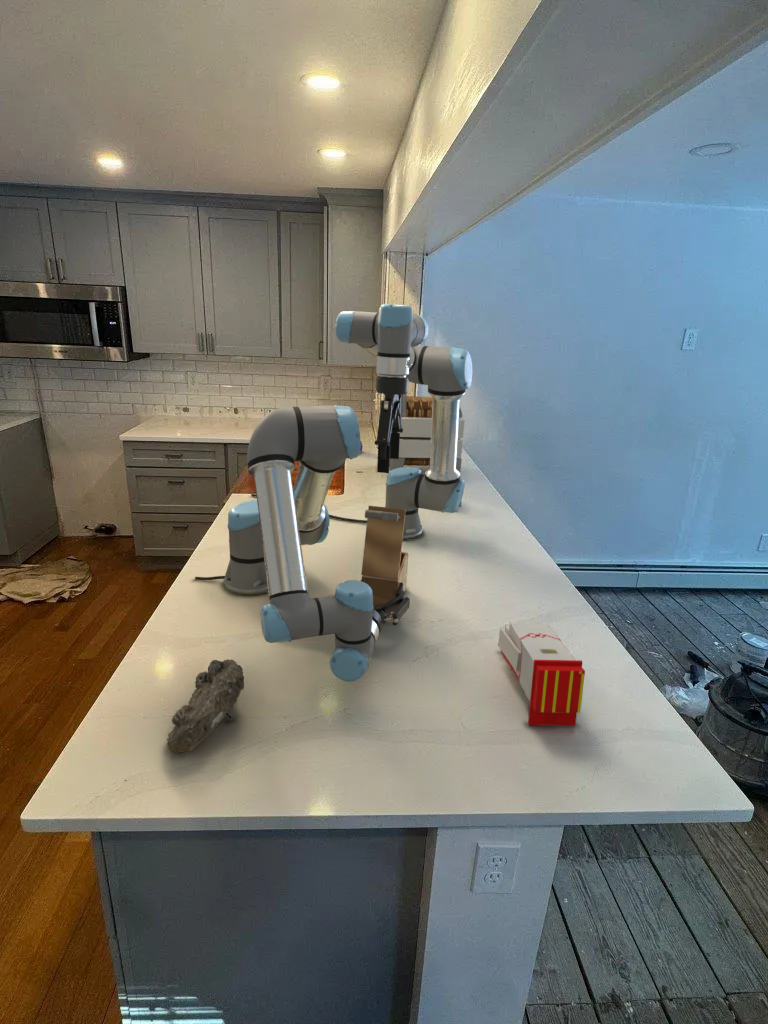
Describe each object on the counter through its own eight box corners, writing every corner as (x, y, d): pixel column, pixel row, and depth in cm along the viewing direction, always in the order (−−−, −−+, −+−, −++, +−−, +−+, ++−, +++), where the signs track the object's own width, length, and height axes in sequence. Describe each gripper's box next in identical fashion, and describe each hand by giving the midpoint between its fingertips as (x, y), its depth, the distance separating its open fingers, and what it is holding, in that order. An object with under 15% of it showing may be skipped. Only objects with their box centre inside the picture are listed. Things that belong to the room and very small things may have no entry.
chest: (374, 582, 163) (375, 548, 159) (406, 586, 161) (408, 552, 157) (360, 613, 147) (361, 576, 143) (396, 618, 146) (398, 581, 142)
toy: (544, 607, 134) (594, 667, 105) (539, 659, 137) (586, 732, 108) (493, 606, 134) (529, 666, 105) (489, 658, 137) (523, 731, 107)
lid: (369, 505, 143) (362, 505, 135) (405, 509, 142) (401, 509, 133) (362, 574, 143) (354, 578, 135) (398, 579, 142) (393, 583, 134)
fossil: (192, 660, 117) (244, 628, 112) (224, 691, 120) (276, 661, 115) (142, 746, 98) (202, 712, 93) (182, 779, 101) (242, 748, 96)
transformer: (382, 463, 289) (386, 382, 275) (445, 464, 293) (451, 384, 279) (390, 482, 257) (394, 392, 243) (460, 483, 261) (468, 394, 247)
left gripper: (315, 637, 130) (341, 592, 151) (410, 650, 126) (423, 603, 147) (316, 608, 127) (341, 566, 148) (412, 621, 124) (425, 577, 145)
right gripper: (399, 382, 118) (394, 480, 125) (416, 371, 141) (411, 454, 148) (364, 380, 119) (361, 477, 126) (386, 369, 142) (383, 452, 150)
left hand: (382, 584), depth 148 cm, fingers closed on chest, 9 cm apart
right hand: (388, 465), depth 137 cm, fingers open, 13 cm apart
